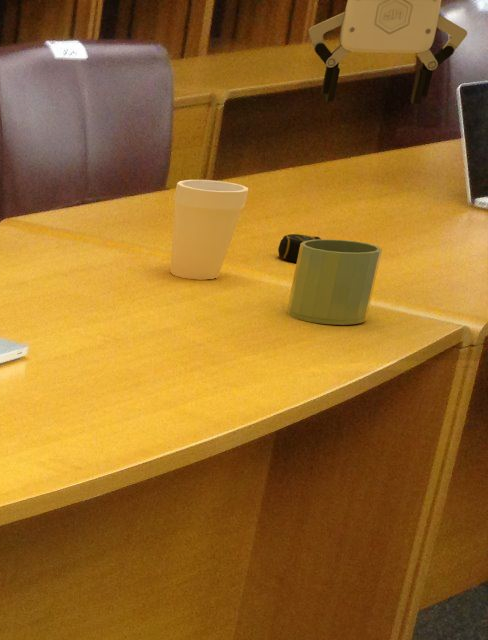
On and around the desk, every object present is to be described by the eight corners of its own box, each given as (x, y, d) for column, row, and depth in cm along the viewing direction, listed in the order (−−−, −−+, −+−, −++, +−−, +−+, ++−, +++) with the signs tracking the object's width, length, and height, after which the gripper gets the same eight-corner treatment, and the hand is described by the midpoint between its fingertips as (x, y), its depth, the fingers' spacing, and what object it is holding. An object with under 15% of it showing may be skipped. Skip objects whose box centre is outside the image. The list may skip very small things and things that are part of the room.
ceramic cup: (381, 323, 196) (397, 251, 192) (315, 326, 194) (330, 254, 190) (336, 306, 204) (351, 238, 200) (272, 309, 203) (286, 240, 199)
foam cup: (145, 273, 222) (163, 181, 216) (196, 269, 225) (215, 178, 219) (189, 288, 214) (209, 193, 208) (241, 284, 217) (263, 190, 211)
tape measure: (330, 269, 227) (336, 244, 225) (282, 266, 228) (288, 241, 226) (317, 259, 233) (323, 234, 231) (270, 256, 234) (276, 231, 232)
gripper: (327, -51, 180) (297, 103, 187) (491, -51, 174) (454, 108, 182) (322, -52, 186) (293, 97, 194) (481, -52, 181) (445, 102, 188)
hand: (371, 102), depth 188 cm, fingers open, 9 cm apart
